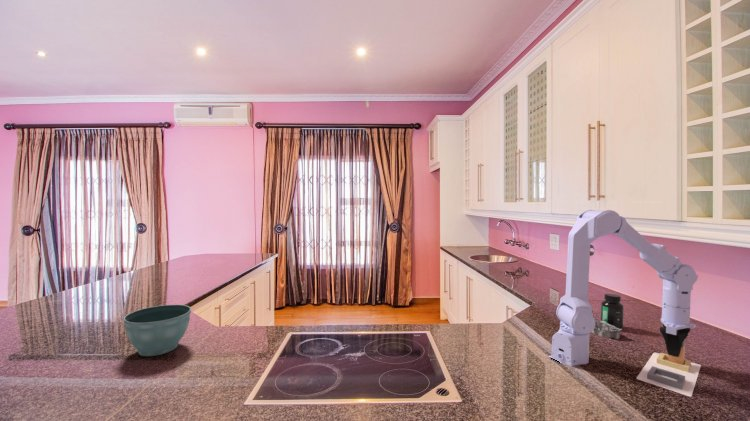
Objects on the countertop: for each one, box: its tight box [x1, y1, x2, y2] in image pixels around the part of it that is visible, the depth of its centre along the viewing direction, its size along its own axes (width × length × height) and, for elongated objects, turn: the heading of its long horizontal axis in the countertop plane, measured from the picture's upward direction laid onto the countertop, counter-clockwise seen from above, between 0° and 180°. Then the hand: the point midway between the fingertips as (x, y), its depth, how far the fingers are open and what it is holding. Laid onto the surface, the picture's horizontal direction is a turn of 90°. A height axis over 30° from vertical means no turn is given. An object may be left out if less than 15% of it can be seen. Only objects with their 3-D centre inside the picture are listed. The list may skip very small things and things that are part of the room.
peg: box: [668, 340, 686, 365], centre depth 89 cm, size 3×3×6 cm
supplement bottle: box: [600, 293, 625, 330], centre depth 119 cm, size 7×7×12 cm
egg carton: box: [591, 320, 623, 340], centre depth 113 cm, size 11×8×4 cm
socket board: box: [636, 352, 702, 398], centre depth 85 cm, size 24×10×2 cm, turn 131°
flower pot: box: [123, 304, 192, 357], centre depth 93 cm, size 16×16×11 cm
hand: (674, 353), depth 89 cm, fingers closed on peg, 3 cm apart
